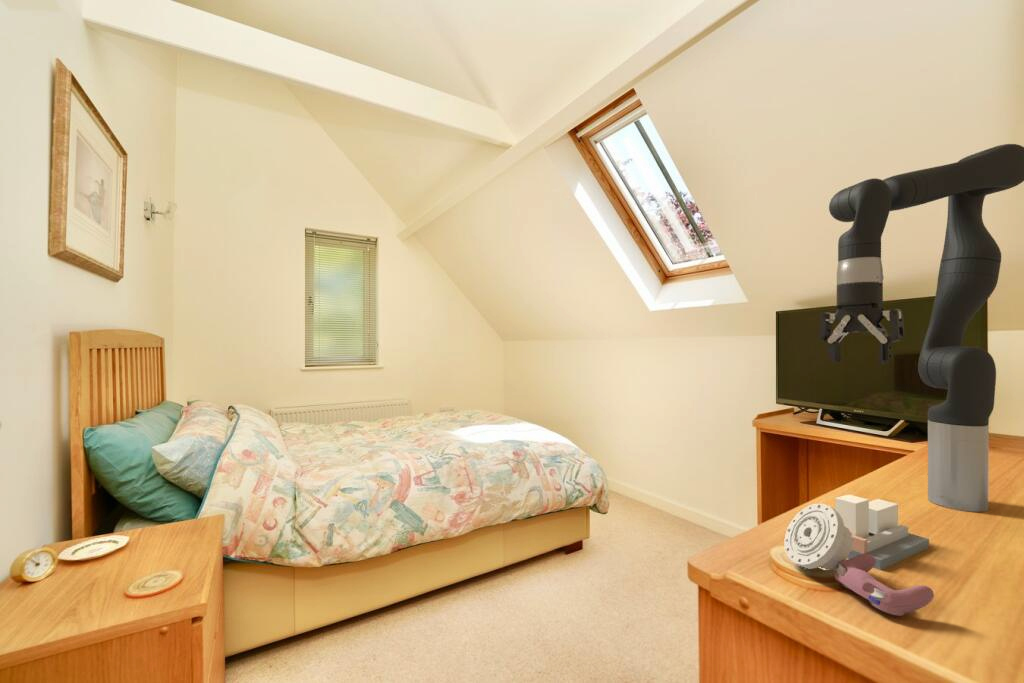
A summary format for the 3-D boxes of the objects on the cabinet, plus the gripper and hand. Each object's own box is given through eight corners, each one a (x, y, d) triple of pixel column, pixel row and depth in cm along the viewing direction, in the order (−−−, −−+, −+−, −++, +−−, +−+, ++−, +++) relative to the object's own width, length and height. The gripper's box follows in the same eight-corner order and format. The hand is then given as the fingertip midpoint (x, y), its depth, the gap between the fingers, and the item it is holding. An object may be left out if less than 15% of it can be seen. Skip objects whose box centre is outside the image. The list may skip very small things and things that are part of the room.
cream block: (877, 498, 83) (857, 505, 80) (897, 504, 81) (877, 510, 77) (877, 524, 83) (857, 532, 80) (897, 530, 81) (877, 538, 77)
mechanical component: (776, 527, 76) (822, 490, 72) (799, 542, 76) (847, 506, 72) (791, 576, 68) (845, 536, 63) (818, 593, 67) (874, 555, 63)
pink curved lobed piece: (866, 583, 67) (821, 578, 66) (871, 552, 67) (826, 547, 66) (934, 627, 57) (881, 621, 56) (940, 590, 57) (887, 584, 56)
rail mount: (854, 525, 87) (854, 479, 87) (929, 548, 77) (929, 496, 77) (804, 542, 79) (804, 492, 79) (880, 570, 70) (880, 513, 70)
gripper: (811, 285, 99) (811, 361, 99) (891, 276, 86) (891, 364, 86) (831, 287, 102) (831, 360, 102) (911, 279, 90) (911, 363, 90)
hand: (859, 362), depth 94 cm, fingers open, 8 cm apart
